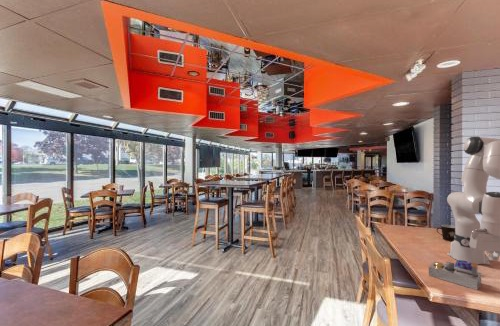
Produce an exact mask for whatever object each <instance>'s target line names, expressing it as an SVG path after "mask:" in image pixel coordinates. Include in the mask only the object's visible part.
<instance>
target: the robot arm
mask: <svg viewBox="0 0 500 326" xmlns="http://www.w3.org/2000/svg"><path fill="white" fill-rule="evenodd" d="M463 151H464V153H465V154H467V155H469V156H468V158H467V161H466V163H465V165H464V169H463V172H462V175H461V179H460V181H461V184H462V185H463V191H454V192H451V193H449V194H448V196H447V197H446V201H447V204H448V205H449V206H450V209H451V211H452V214H453V217H454V226H455V234H454V241H450V252H447V254H446V255H447V256H448V257H451V258H453V259H454V260H456V261H457V260H463V261H467V262H470V263H471V264H473V263H476V264H478V265H487V266H490V265H491V262H490V261H492V262H493V261H499V258H500V192H499V191H488V192H487V184H488V180H489V176H490V177H491V178H494V179H497V180H500V139H499V138H496V137H495V138H494V137H493V138H491V137H482V136H481V137H480V136H470V137H469V138H467V139H466V141H465V142H464V144H463ZM476 215H481V218H480V221H479V220H478V219H477V217H476Z"/></svg>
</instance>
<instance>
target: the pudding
mask: <svg viewBox="0 0 500 326" xmlns="http://www.w3.org/2000/svg"><path fill="white" fill-rule="evenodd" d="M454 267H458V268H462V269H466V270H470V271H472V263H470V262H467V261H463V260H456V261H455V263H454ZM478 273H480V272H479V271H478Z"/></svg>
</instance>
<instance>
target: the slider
mask: <svg viewBox="0 0 500 326" xmlns="http://www.w3.org/2000/svg"><path fill="white" fill-rule="evenodd" d="M471 264H472V263H471ZM478 265H479V264H476V263H473V264H472V276H477V275H478V272H479V271H478Z"/></svg>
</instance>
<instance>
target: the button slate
mask: <svg viewBox="0 0 500 326" xmlns="http://www.w3.org/2000/svg"><path fill="white" fill-rule="evenodd" d="M445 264H446V269H448V270H451V271H454V266H455V263H454V262H452V261H446V262H445Z"/></svg>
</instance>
